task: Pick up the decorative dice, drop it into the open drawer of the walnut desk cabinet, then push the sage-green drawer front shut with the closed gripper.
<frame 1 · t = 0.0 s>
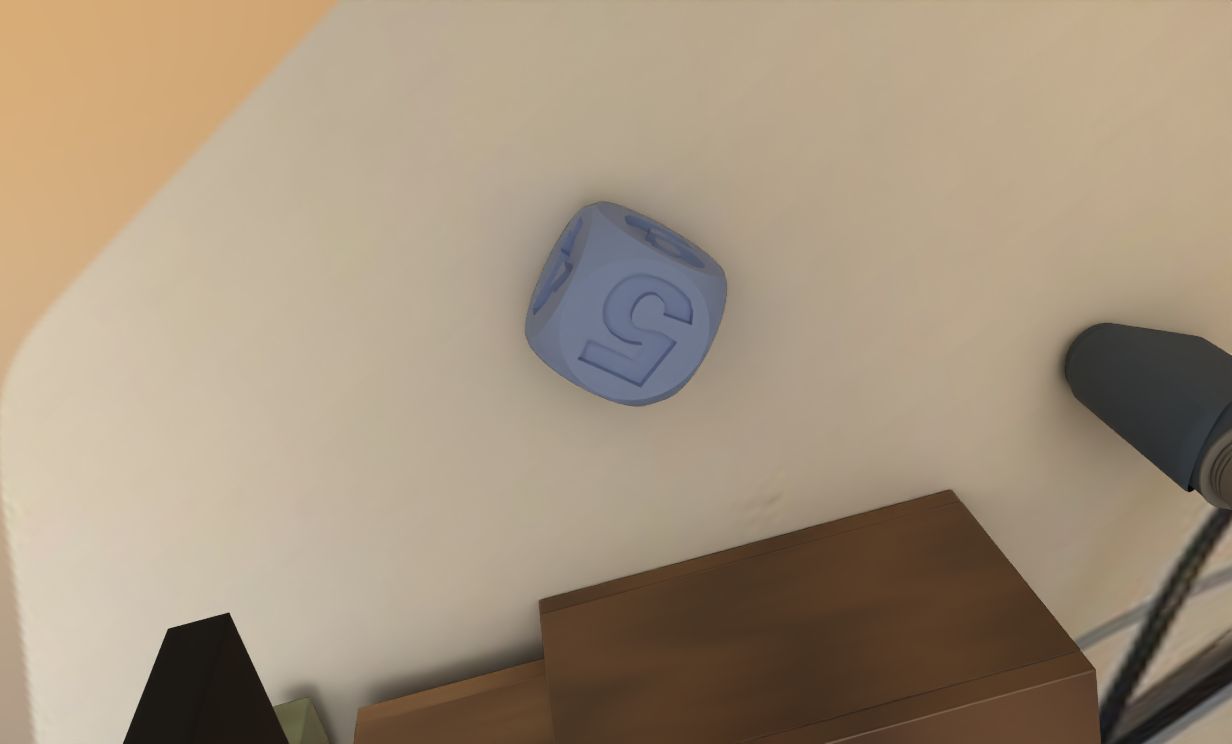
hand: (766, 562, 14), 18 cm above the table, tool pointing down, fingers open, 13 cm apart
cabinet: (779, 696, 39), on the table
decorative dice: (614, 277, 32), on the table
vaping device: (1132, 360, 35), on the table
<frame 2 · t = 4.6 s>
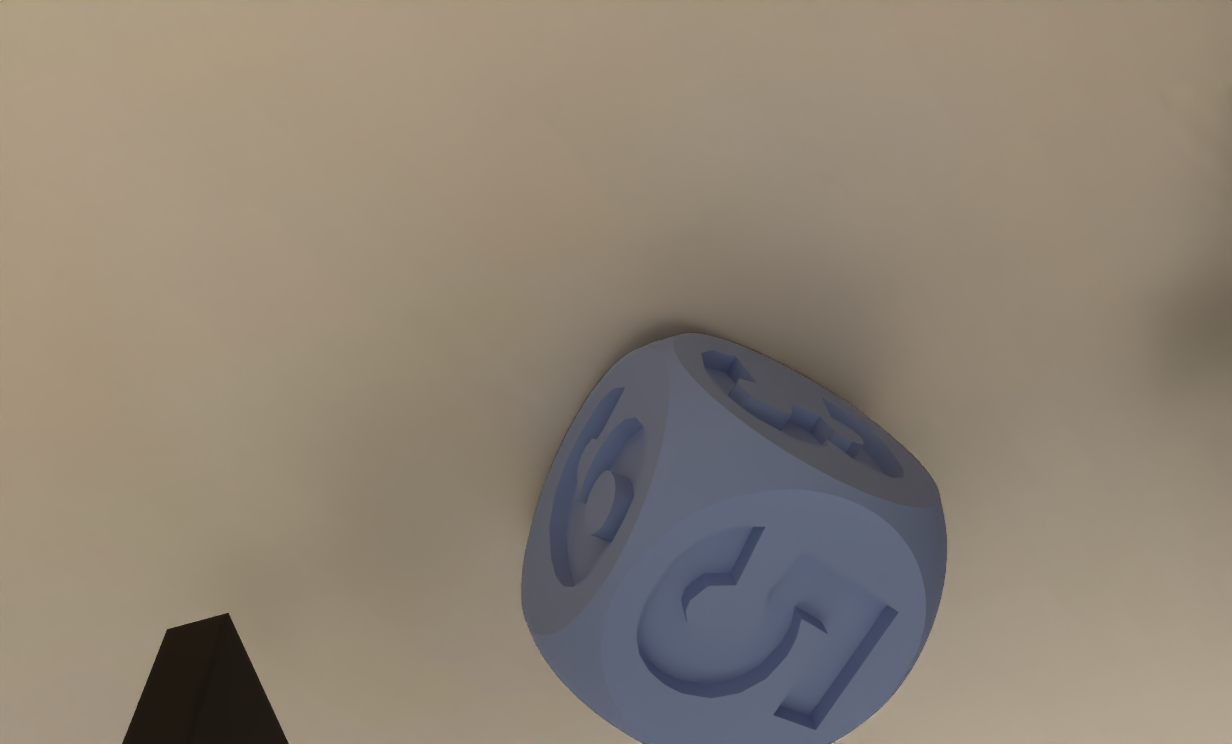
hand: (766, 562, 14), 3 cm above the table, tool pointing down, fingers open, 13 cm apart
decorative dice: (691, 462, 17), on the table
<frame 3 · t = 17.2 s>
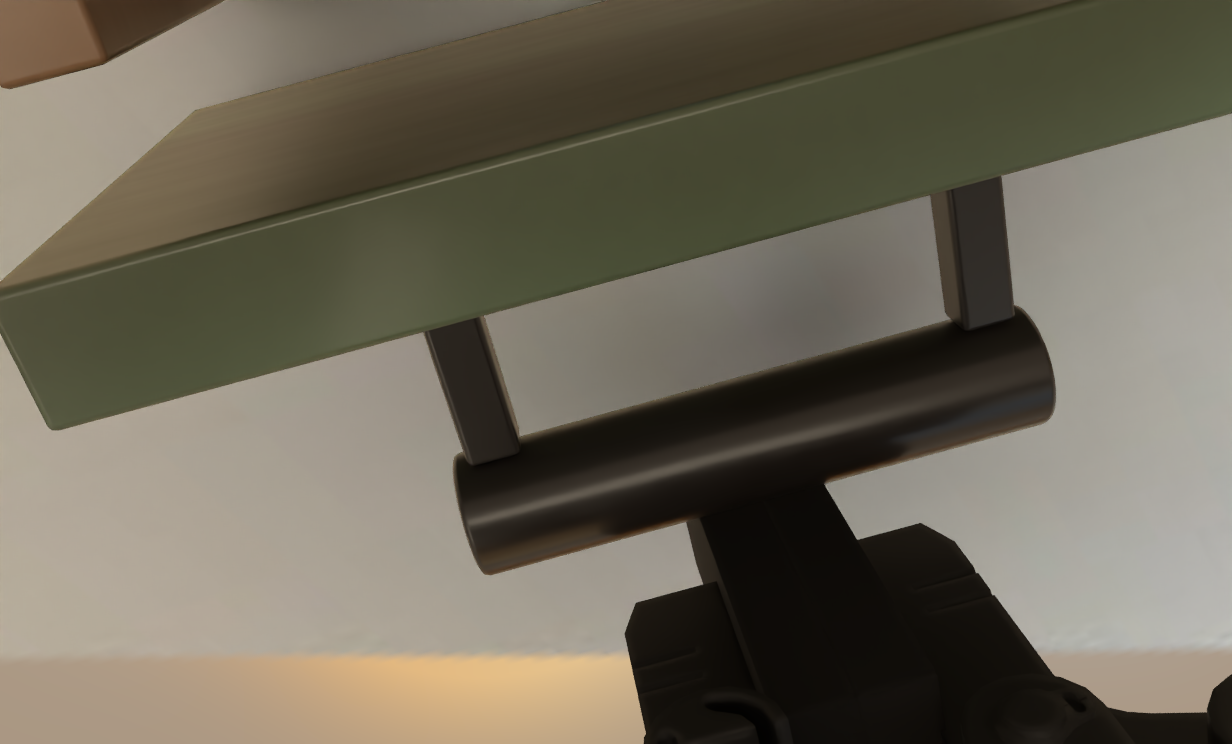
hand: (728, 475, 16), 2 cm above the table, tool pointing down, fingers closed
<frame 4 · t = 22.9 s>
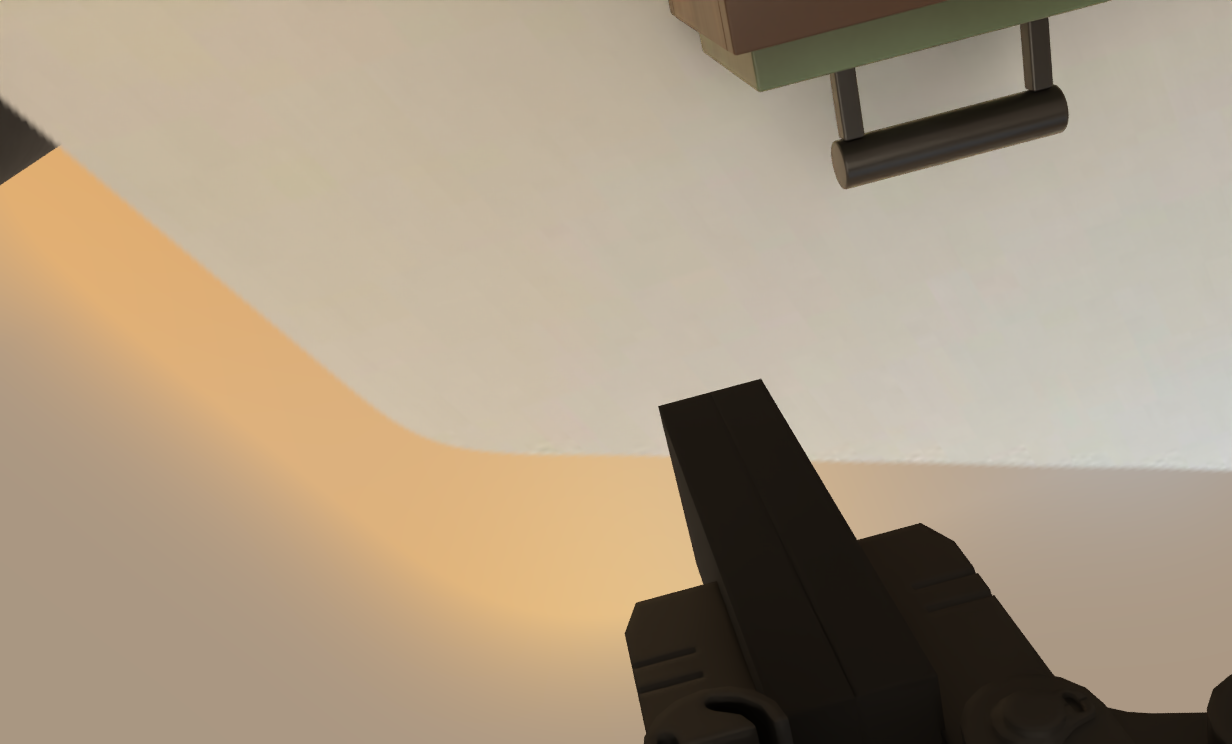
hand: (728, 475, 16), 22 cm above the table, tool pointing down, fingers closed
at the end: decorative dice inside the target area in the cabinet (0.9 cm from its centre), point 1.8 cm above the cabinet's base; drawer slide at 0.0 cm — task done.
